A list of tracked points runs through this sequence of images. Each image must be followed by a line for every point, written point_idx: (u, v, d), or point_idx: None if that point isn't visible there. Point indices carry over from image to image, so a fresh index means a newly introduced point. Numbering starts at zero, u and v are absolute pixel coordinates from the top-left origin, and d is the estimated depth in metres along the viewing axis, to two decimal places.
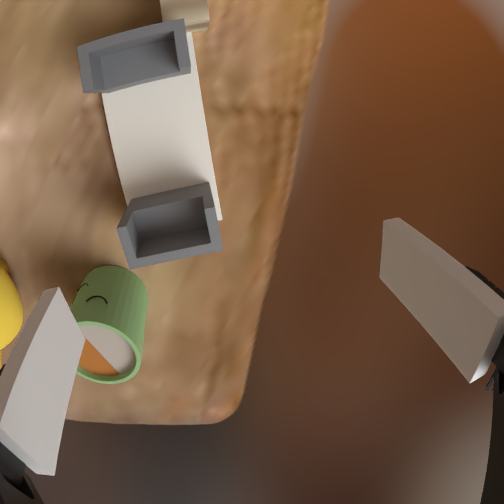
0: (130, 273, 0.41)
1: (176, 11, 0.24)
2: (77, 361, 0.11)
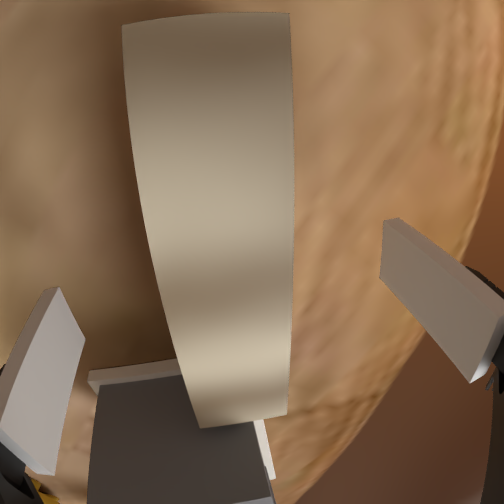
0: None
1: (225, 409, 0.14)
2: (77, 360, 0.11)
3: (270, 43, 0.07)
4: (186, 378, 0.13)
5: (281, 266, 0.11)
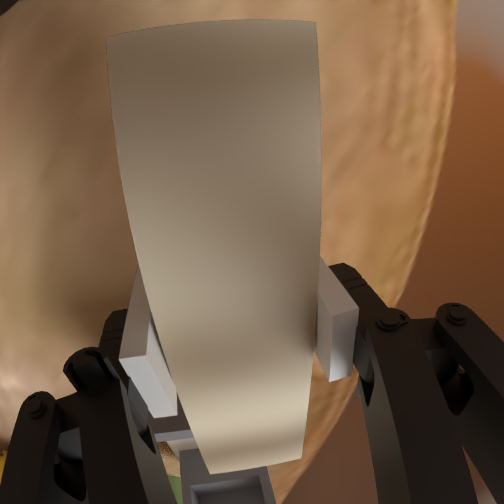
0: (178, 480, 0.36)
1: (236, 457, 0.12)
2: None
3: (293, 59, 0.06)
4: (195, 432, 0.11)
5: (302, 323, 0.09)
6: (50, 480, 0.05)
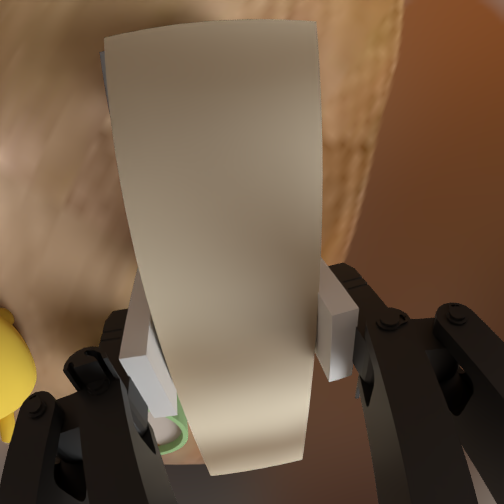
0: None
1: (237, 459, 0.12)
2: None
3: (294, 60, 0.06)
4: (196, 434, 0.11)
5: (303, 325, 0.09)
6: (50, 480, 0.05)
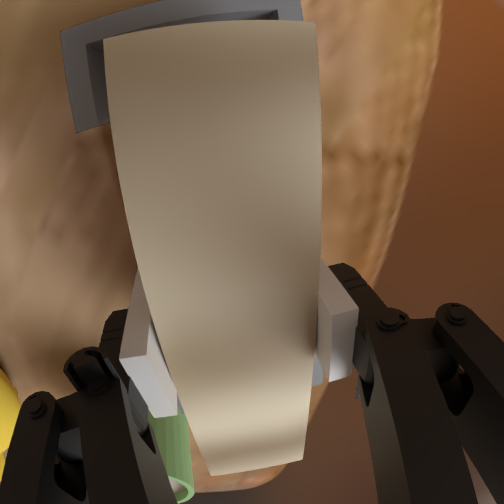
0: None
1: (238, 459, 0.12)
2: None
3: (293, 60, 0.06)
4: (196, 435, 0.11)
5: (303, 325, 0.09)
6: (50, 480, 0.05)
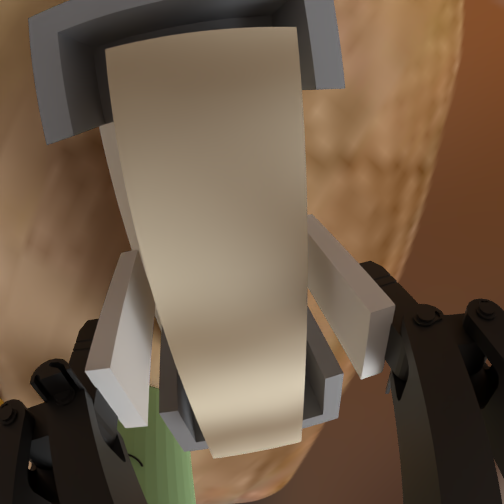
0: None
1: (238, 440, 0.13)
2: (151, 321, 0.13)
3: (276, 63, 0.07)
4: (197, 415, 0.12)
5: (294, 306, 0.10)
6: (25, 484, 0.04)
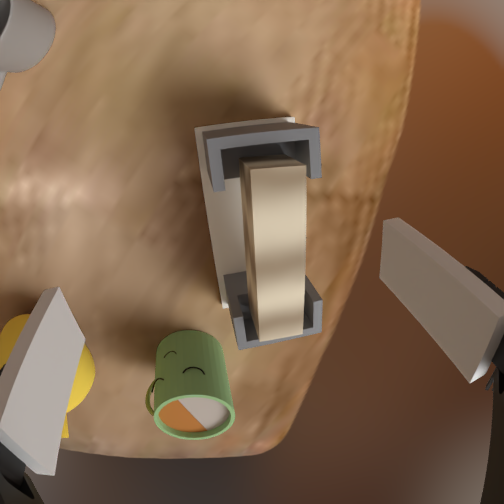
0: (210, 337, 0.45)
1: (273, 327, 0.31)
2: (77, 361, 0.11)
3: (299, 177, 0.25)
4: (259, 307, 0.30)
5: (301, 255, 0.28)
6: None
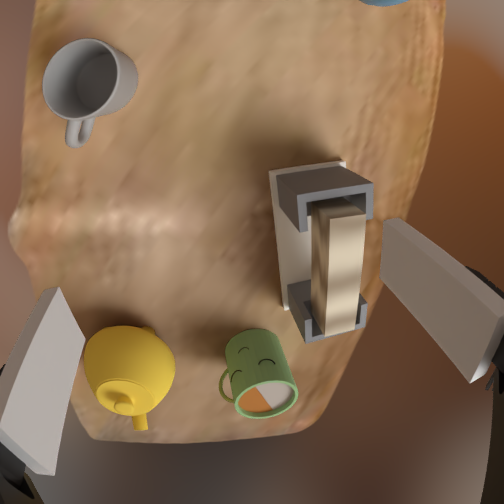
0: (272, 333, 0.55)
1: (335, 326, 0.42)
2: (77, 361, 0.11)
3: (361, 222, 0.35)
4: (327, 312, 0.40)
5: (358, 274, 0.38)
6: None
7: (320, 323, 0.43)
